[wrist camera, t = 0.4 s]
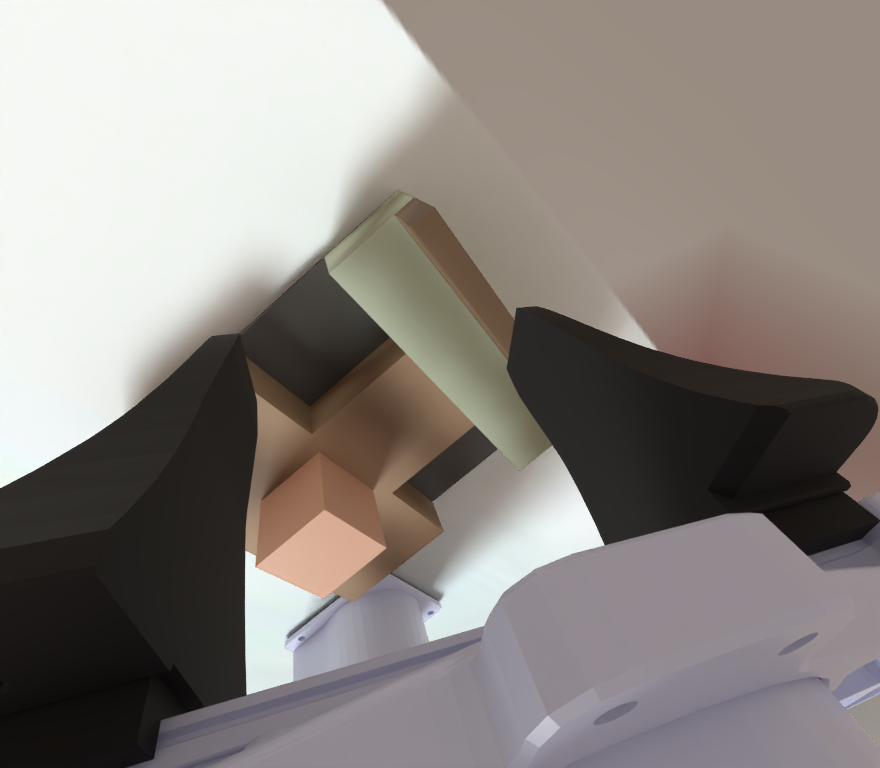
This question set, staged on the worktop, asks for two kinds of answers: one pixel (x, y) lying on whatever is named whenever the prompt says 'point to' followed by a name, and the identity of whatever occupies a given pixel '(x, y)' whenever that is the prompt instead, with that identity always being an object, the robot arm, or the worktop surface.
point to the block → (318, 527)
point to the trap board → (387, 377)
